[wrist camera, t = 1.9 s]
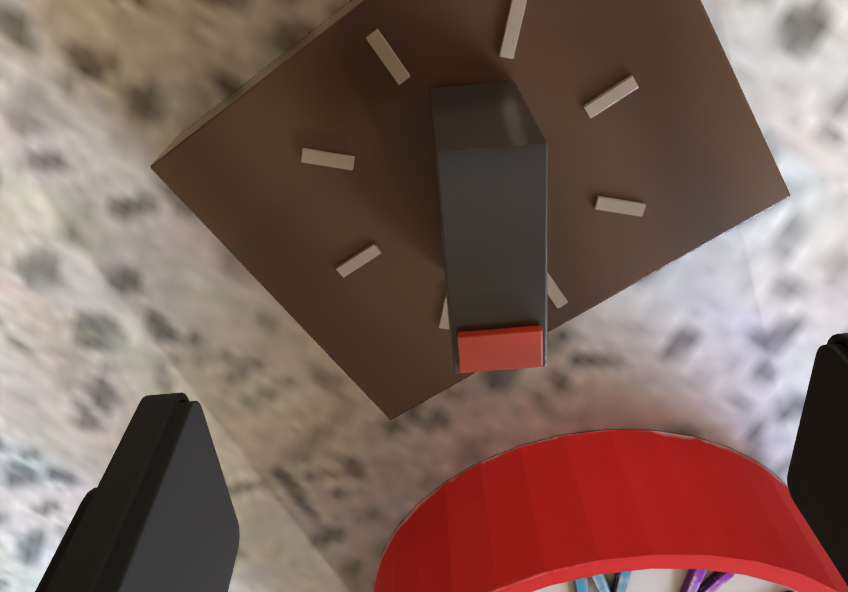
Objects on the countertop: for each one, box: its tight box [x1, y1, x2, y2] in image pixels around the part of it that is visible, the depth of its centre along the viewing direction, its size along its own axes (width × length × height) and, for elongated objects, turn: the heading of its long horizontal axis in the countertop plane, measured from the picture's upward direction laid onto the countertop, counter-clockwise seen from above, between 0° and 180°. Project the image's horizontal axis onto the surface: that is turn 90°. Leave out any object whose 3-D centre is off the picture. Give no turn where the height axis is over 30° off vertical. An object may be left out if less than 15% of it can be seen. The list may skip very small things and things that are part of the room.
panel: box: [151, 0, 790, 420], centre depth 20 cm, size 14×11×3 cm
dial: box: [429, 81, 548, 374], centre depth 17 cm, size 5×2×5 cm, turn 5°
